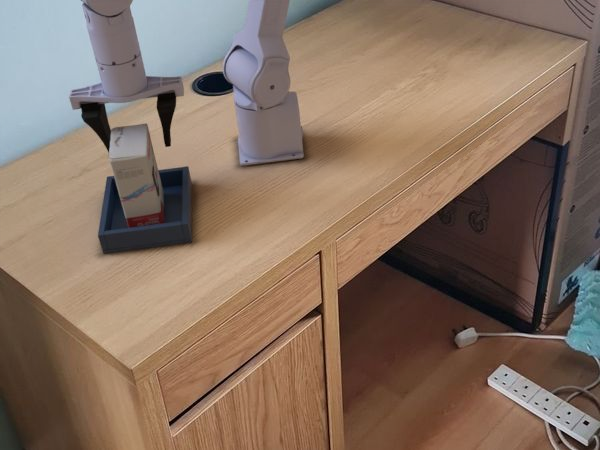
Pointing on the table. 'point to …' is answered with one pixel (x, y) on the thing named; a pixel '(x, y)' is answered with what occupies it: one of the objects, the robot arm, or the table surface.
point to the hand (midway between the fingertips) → (140, 146)
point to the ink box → (137, 175)
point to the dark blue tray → (171, 232)
